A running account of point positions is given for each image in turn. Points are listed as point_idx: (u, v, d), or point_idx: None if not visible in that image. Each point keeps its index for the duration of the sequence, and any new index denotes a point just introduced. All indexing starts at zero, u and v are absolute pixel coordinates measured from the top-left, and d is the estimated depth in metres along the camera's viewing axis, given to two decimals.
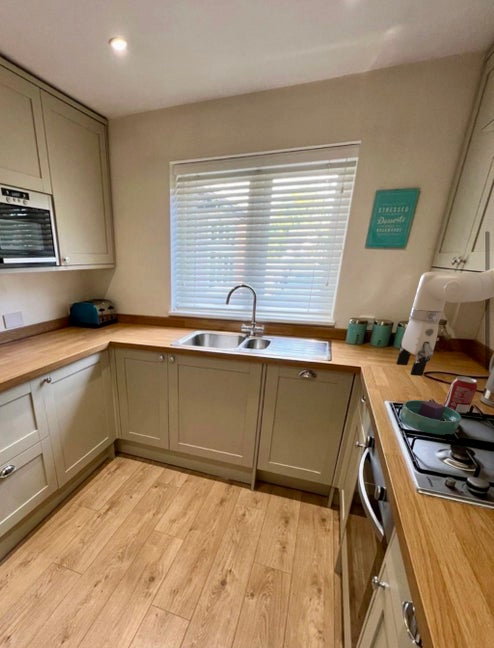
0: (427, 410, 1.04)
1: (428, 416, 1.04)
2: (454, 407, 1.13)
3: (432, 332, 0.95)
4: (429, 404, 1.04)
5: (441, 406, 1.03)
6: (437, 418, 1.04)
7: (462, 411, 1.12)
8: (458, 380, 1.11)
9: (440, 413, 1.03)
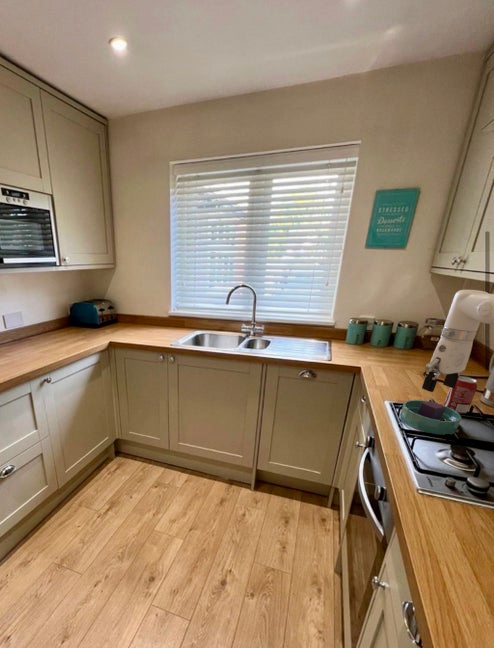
0: (427, 410, 1.04)
1: (428, 416, 1.04)
2: (454, 407, 1.13)
3: None
4: (429, 404, 1.04)
5: (441, 406, 1.03)
6: (437, 418, 1.04)
7: (462, 411, 1.12)
8: (458, 380, 1.11)
9: (440, 413, 1.03)
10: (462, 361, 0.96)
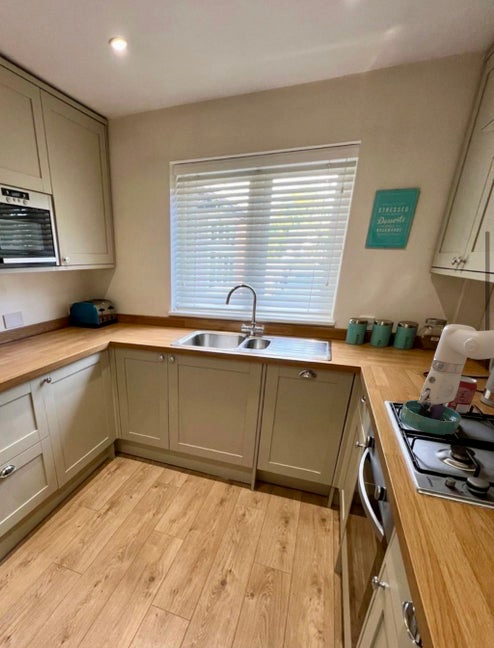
0: None
1: None
2: (454, 407, 1.13)
3: None
4: (429, 404, 1.04)
5: (441, 406, 1.03)
6: (437, 418, 1.04)
7: (462, 411, 1.12)
8: None
9: (440, 413, 1.03)
10: (451, 392, 1.00)
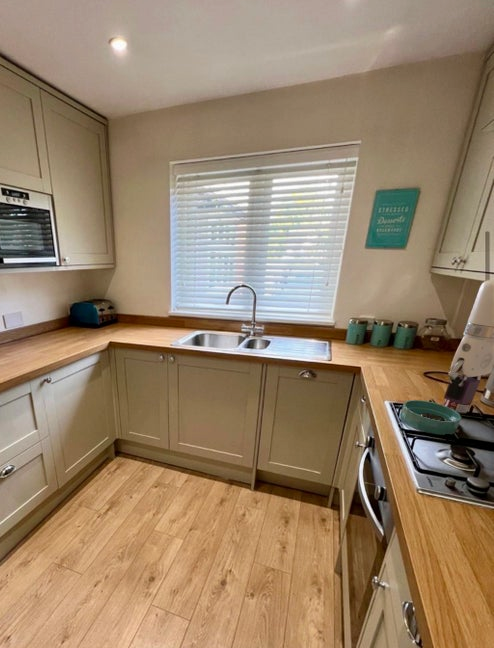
0: None
1: None
2: (454, 407, 1.13)
3: None
4: (461, 378, 0.88)
5: (475, 380, 0.87)
6: (470, 394, 0.88)
7: (462, 411, 1.12)
8: None
9: (474, 388, 0.87)
10: (489, 362, 0.84)
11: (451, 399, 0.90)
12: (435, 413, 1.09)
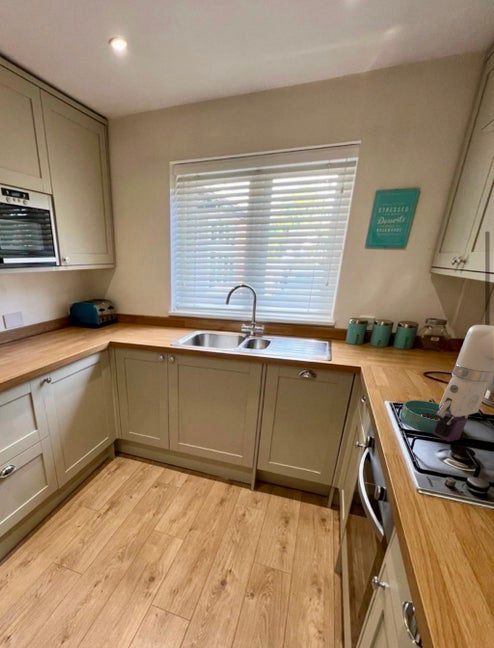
0: None
1: None
2: None
3: None
4: (449, 416, 0.91)
5: (463, 418, 0.90)
6: (458, 432, 0.91)
7: None
8: None
9: (461, 426, 0.90)
10: (476, 402, 0.87)
11: (439, 435, 0.93)
12: (435, 413, 1.09)
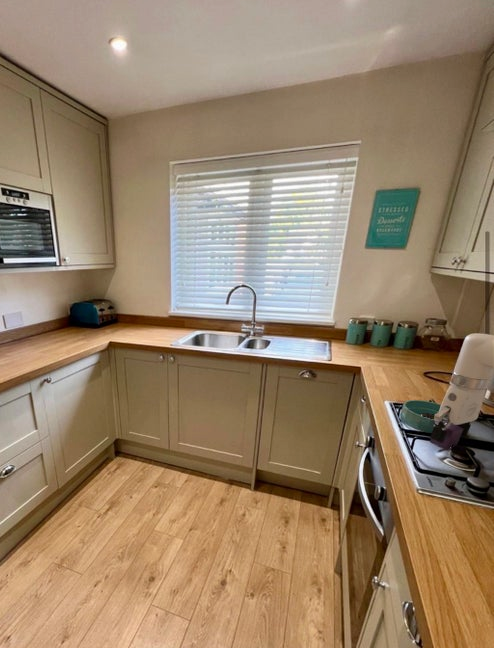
0: None
1: None
2: None
3: None
4: None
5: (459, 428, 0.91)
6: (454, 441, 0.92)
7: None
8: None
9: (457, 435, 0.91)
10: (474, 410, 0.88)
11: None
12: (435, 413, 1.09)
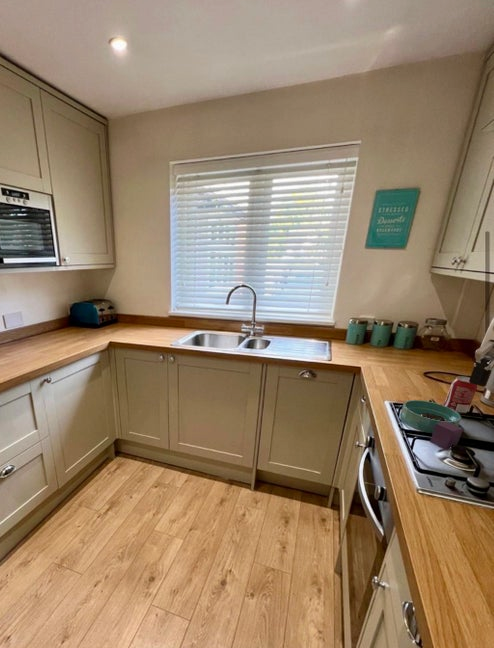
0: (443, 432, 0.92)
1: (444, 439, 0.92)
2: (454, 407, 1.13)
3: None
4: (445, 425, 0.92)
5: (459, 428, 0.91)
6: (454, 441, 0.92)
7: (462, 411, 1.12)
8: (458, 380, 1.11)
9: (457, 435, 0.91)
10: None
11: None
12: (435, 413, 1.09)
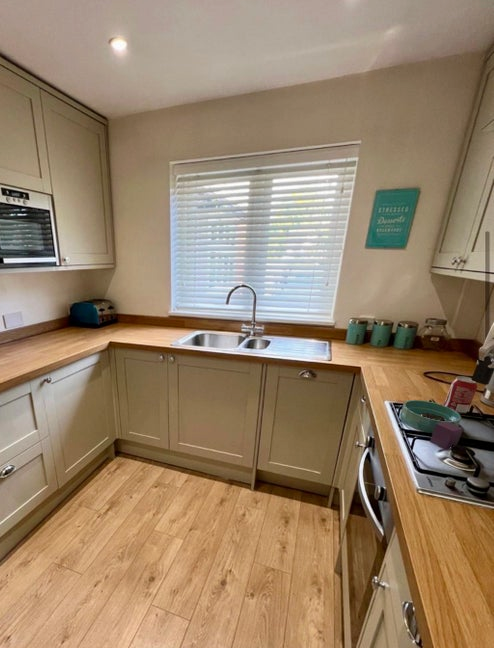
0: (443, 432, 0.92)
1: (444, 439, 0.92)
2: (454, 407, 1.13)
3: None
4: (445, 425, 0.92)
5: (459, 428, 0.91)
6: (454, 441, 0.92)
7: (462, 411, 1.12)
8: (458, 380, 1.11)
9: (457, 435, 0.91)
10: None
11: None
12: (435, 413, 1.09)
